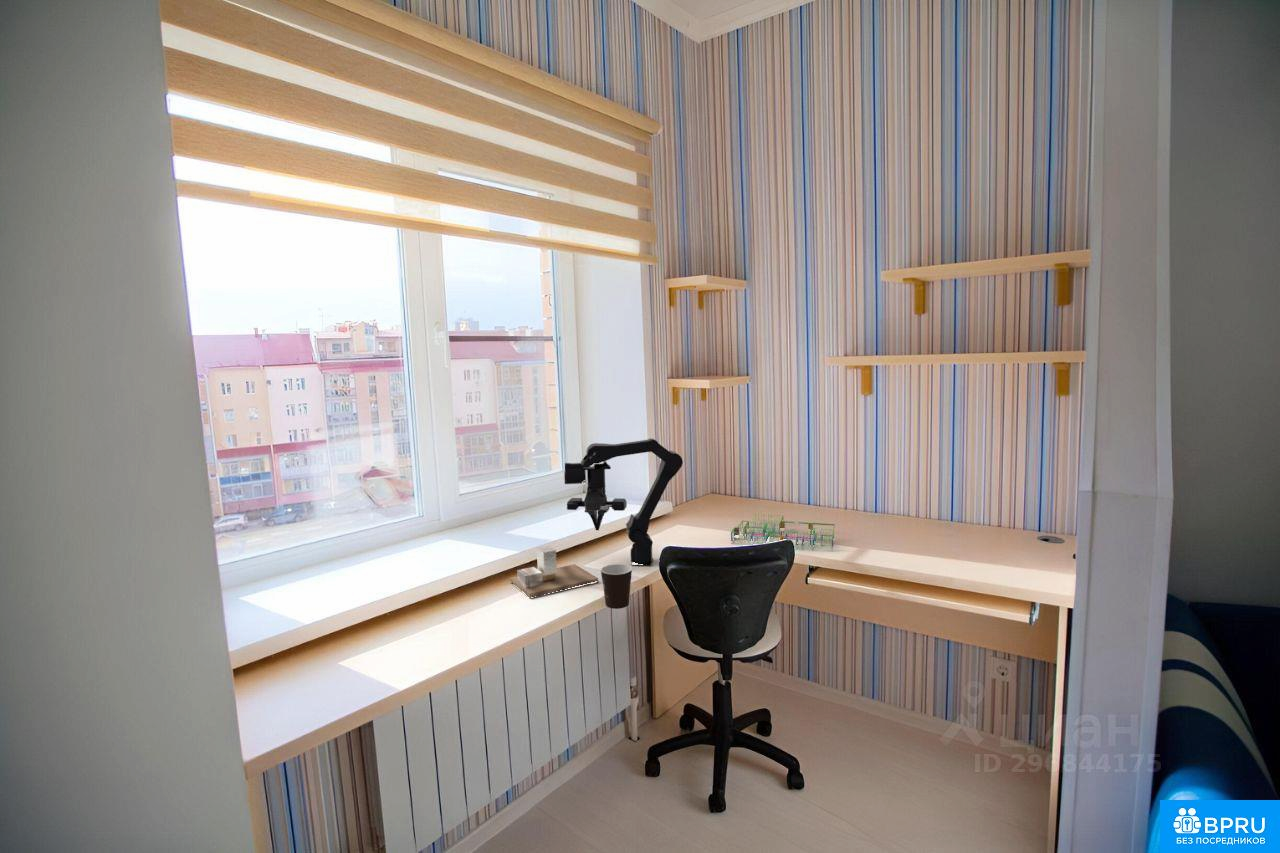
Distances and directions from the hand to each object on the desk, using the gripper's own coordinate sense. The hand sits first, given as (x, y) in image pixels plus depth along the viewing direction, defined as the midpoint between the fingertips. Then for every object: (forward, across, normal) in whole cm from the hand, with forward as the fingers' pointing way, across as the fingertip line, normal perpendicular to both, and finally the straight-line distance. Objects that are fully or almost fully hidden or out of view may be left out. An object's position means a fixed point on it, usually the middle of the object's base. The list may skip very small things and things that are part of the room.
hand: (597, 530), depth 207 cm
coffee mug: (+12, +12, -30) cm, 35 cm away
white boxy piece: (+10, -14, -19) cm, 26 cm away
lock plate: (+12, -11, -17) cm, 24 cm away
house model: (+12, +63, +38) cm, 74 cm away
